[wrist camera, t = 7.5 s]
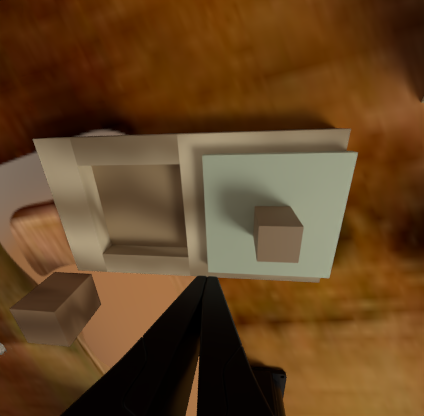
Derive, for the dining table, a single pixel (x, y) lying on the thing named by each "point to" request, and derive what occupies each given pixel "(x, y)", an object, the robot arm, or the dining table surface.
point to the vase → (2, 348)
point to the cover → (275, 211)
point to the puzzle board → (152, 194)
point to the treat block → (57, 308)
